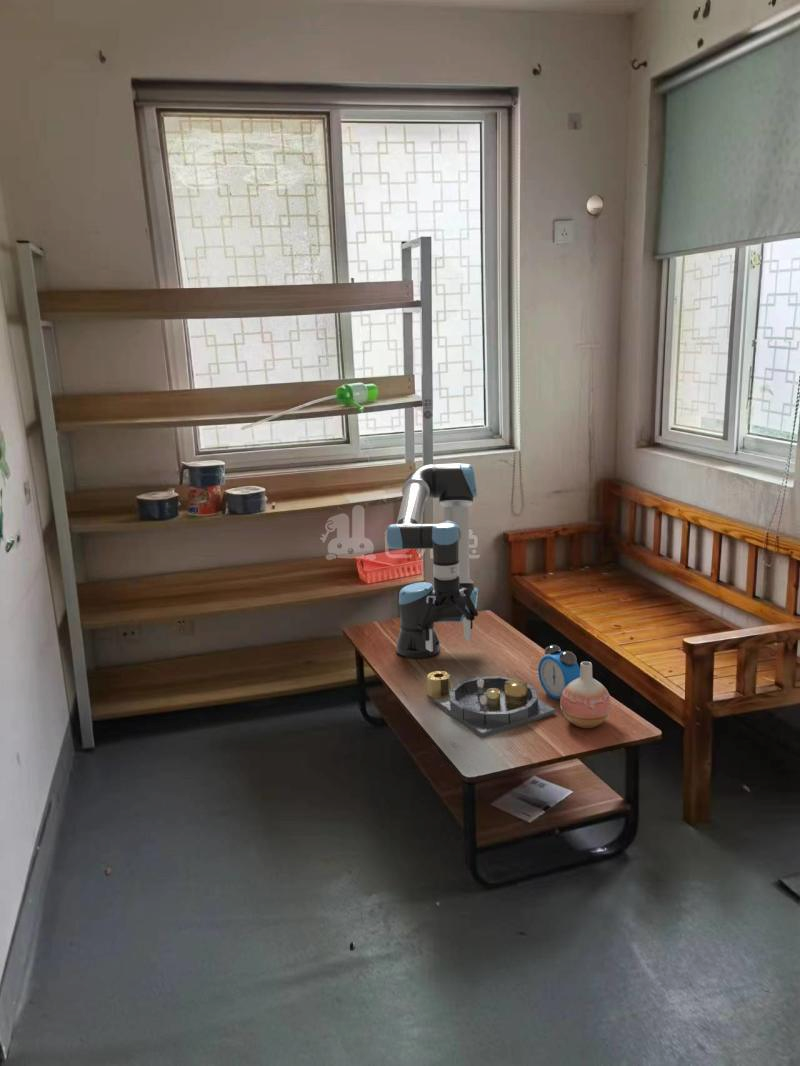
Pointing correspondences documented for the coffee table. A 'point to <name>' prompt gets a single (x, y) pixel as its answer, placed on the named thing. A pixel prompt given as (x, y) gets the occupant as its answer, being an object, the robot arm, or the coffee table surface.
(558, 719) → the coffee table surface
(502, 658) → the coffee table surface
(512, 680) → the carrier
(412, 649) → the robot arm
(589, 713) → the vase
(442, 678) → the octagonal brass tube
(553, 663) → the alarm clock
